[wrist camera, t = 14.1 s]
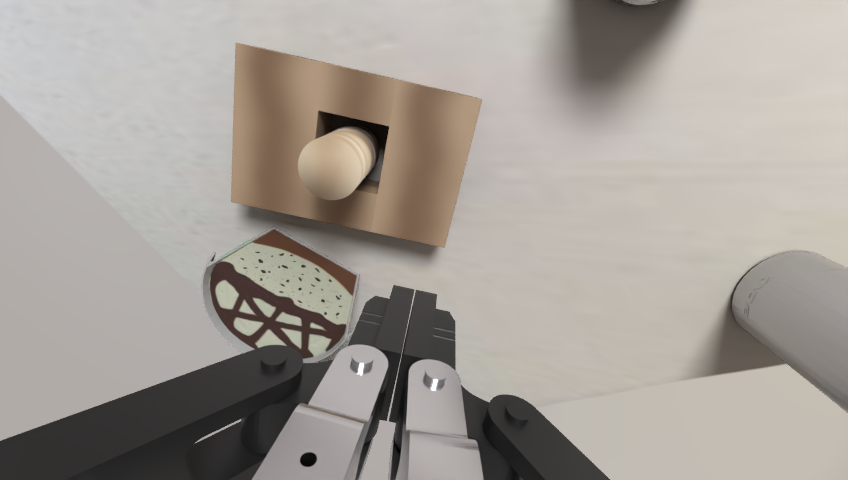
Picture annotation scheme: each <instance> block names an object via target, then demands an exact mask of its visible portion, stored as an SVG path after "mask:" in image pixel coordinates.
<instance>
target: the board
mask: <svg viewBox="0 0 848 480" xmlns="http://www.w3.org/2000/svg"><path fill="white" fill-rule="evenodd" d="M481 103H482V99H479V98H476V97H472V96H467V95H463V94H459V93H454V92H450V91H446V90H441V89H437V88H433V87H428V86H424V85H420V84H415V83H411V82H407V81H402V80H398V79H394V78H389V77H385V76H381V75H376V74H372V73H368V72H363V71H359V70H355V69H350V68H346V67H342V66H337V65H333V64H329V63H324V62H320V61H316V60H311V59H307V58H303V57H299V56H294V55H290V54H286V53H281V52H277V51H273V50H268V49H264V48H259V47H255V46H250V45H245V44H240V43H236V49H235V84H234V119H233V153H232V188H231V202H233V203H238V204H243V205H247V206H252V207H257V208H261V209H266V210H271V211H275V212H280V213H285V214H289V215H294V216H299V217H303V218H308V219H313V220H317V221H322V222H327V223H331V224H336V225H341V226H345V227H350V228H355V229H359V230H364V231H369V232H373V233H378V234H383V235H387V236H392V237H397V238H401V239H406V240H411V241H415V242H420V243H425V244H429V245H434V246H439V247H443V248H445V244H446V240H447V236H448V232H449V228H450V224H451V220H452V216H453V212H454V208H455V204H456V201H457V197H458V193H459V189H460V185H461V181H462V177H463V173H464V169H465V165H466V161H467V157H468V153H469V150H470V146H471V142H472V138H473V134H474V130H475V126H476V122H477V118H478V114H479V110H480V106H481ZM331 114H337V115H341V116H345V117H350V118H354V119H359V120H363V121H368V122H372V123H376V124H381V125H385V126H389V131H388V137H387V142H386V148H385V154H384V160H383V165H382V171H381V177H380V182H378V181H374V180H369V179H365V178H364V179H363V180H362V182H361V183H360V184H359V185H358V186H357V188H356V189H355V190H354V191H353V192H352V193H351V194H350V195H349V196H347V197H345V198H342V199H339V200H326V199H322V198H320V197H317V196H316V195H314V194H313V193H311V192H310V191H309V190H308V189H307V188H306V187H305V185H304V184H303V182H302V180H301V178H300V175H299V171H298V160H299V156H300V154H301V152H302V150H303V148H304V147H305V146H306V145H307V144H308V143H310V142H311V141H313V140H315V139H317V138H320V137H322V136H324V135H326V134H329V131H330V122H331Z"/></svg>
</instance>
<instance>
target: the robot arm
mask: <svg viewBox="0 0 848 480" xmlns="http://www.w3.org/2000/svg"><path fill="white" fill-rule="evenodd" d="M413 294H414V289H409V288H405V287H400V286H396V285H394V286H393V289H392V292H391V296H390V299H387V298H383V297H378V296H375V297H373V298H372V299H370V300H369V301H367V302H366V304H365V306H364V309H363V311H362V313H361V316H360V318H359V321H358V323H357V325H356V328H355V330H354V332H353V335H352V337H351V340H350V342H349V344H348V347H345V348H343V349H342V350H340V351H339V352H338V354H337V355H336V357H335V359H333V360H331V361H327V362H321V363H303V358H302V356H301V354H300V353H299V352H298V351H297V350H295V349H293V348H291V347H288V346H284V345H267V346H263V347H260V348H257V349H254V350H251V351H248V352H246V353H243V354H240V355H237V356H235V357H232V358H229V359H226V360H224V361H221V362H218V363H215V364H213V365H210V366H207V367H204V368H201V369H199V370H196V371H193V372H190V373H187V374H185V375H182V376H179V377H176V378H174V379H171V380H168V381H166V382H163V383H160V384H157V385H154V386H151V387H149V388H146V389H143V390H141V391H137V392H135V393H132V394H129V395H126V396H124V397H121V398H118V399H116V400H113V401H110V402H107V403H104V404H102V405H99V406H96V407H93V408H90V409H88V410H85V411H82V412H79V413H77V414H74V415H71V416H68V417H66V418H63V419H60V420H57V421H54V422H51V423H49V424H46V425H43V426H41V427H38V428H35V429H32V430H29V431H26V432H24V433H21V434H18V435H16V436H13V437H10V438H7V439H5V440H2V441H0V480H360V479H361V476H362V473H363V470H364V466H365V464H366V460H367V457H368V454H369V451H370V448H371V445H372V441H373V437H374V436H375V434H376V432H377V429H378V425H379V420H385V421H387V416H388V412H389V407H390V403H391V398H392V394H393V389H394V385H395V380H396V376H397V371H398V367H399V362H400V358H401V353H402V348H403V343H404V338H405V333H406V329H407V324H408V319H409V314H410V309H411V304H412V299H413ZM436 298H437V294H433V293H428V292H424V291H419V290H416V293H415V297H414V302H413V306H412V311H411V315H410V320H409V324H408V329H407V333H406V338H405V343H404V348H403V353H402V358H401V363H400V368H399V373H398V378H397V383H396V388H395V393H394V399H393V403H392V408H391V413H390V418H389V421H390V422H395V423H396V427H395V433H394V437H393V441H392V446H391V452H390V463H389V474H388V480H610V479H609V478H608V477H607V476H606V475H605V474H604V473H603V472H601V471H600V470H599V469H598V468H597V467H596V466H595V465H594V464H593V463H592V462H591V461H590V460H589V459H588V458H587V457H586V456H585V455H584V454H583V453H582V452H581V451H579V450H578V448H576V447H575V446H574V445H573V444H572V443H571V442H570V441H569V440H568V439H567V438H566V437H565V436H564V435H563V434H562V433H561V432H560V431H559V430H558V429H557V428H556V427H555V426H554V425H552V424H551V423H550V422H549V421H548V420H547V419H546V418H545V417H544V416H543V415H542V414H541V413H540V412H539V411H538V410H536V408H535V407H534V406H532V405H531V404H530V403H528V402H527V401H525V400H523V399H521V398H519V397H516V396H513V395H498V396H496V397H494V398H493V399H492V400H491V401H490V403H489V402H486V401H484V400H482V399H480V398H478V397H476V396H474V395H472V394H471V393H469V392H468V391H467V390H466V389H465V388H464V387H463V386H462V385H461V381H460V377H459V375H458V374H457V372H456V371H455V320H454V319H453V317H452V316H451V314H450V312H448V311H443V310H439V309H436ZM732 312H733V315H734V318H735V319H736V321H737V322H738V324H739V325H740V326H741V327H743V328H744V329H745V330H746V331H748V332H749V333H750V334H751V335H753V336H754V337H755V338H756V339H757V340H759V341H760V342H761V343H762V344H764V345H765V346H766V347H767V348H768V349H770V350H771V351H772V352H773V353H774V354H776V355H777V356H778V357H779V358H780V359H782V360H783V361H784V362H785V363H787V364H788V365H789V366H791V367H792V368H793V369H794V370H795V371H797V372H798V373H799V374H800V375H801V376H803V377H804V378H805V379H806V380H808V381H809V382H810V383H811V384H813V385H814V386H815V387H816V388H818V389H819V390H820V391H822V393H824V394H825V395H826V396H828V397H829V398H830V399H831V400H832V401H834V402H835V403H836V404H837V405H839V406H840V407H841V408H842V409H844V410H845V411H846V412H847V413H848V268H847V267H845V266H843V265H840V264H838V263H836V262H834V261H832V260H829V259H827V258H825V257H823V256H820V255H818V254H816V253H811V252H807V251H792V252H786V253H782V254H779V255H775V256H772V257H770V258H768V259H766V260H764V261H762V262H761V263H759V264H758V265H757V266H755V267H754V268H752V269H751V270H750V271H749V272H748V273H747V274H746V275H745V276H744V277H743V279H742V280H741V281H740V283H739V284H738V286H737V288H736V290H735V292H734V295H733V300H732ZM239 419H241V422H239V423H236V424H235V425H232V426H230V427H228V428H226V429H224V430H222V431H220V432H218V433H216V434H214V435H212V436H210V437H208V438H206V439H204V440H202V441H200V442H197V443H195V442H196V441H198V440H199V439H201V438H202V437H204V436H206V435H208V434H210V433H212V432H214V431H216V430H219V429H221V428H223V427H225V426H227V425H229V424H231V423H233V422H235V421H237V420H239ZM194 443H195V444H194Z"/></svg>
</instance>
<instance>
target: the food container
mask: <svg viewBox="0 0 848 480" xmlns="http://www.w3.org/2000/svg"><path fill="white" fill-rule="evenodd" d="M215 254H216V252H213V254H212V255H211V256H210V258H209V259H208V261H207V263H206V266H205V269H204V273H203V276H202V283H201V293H202V300H203V304H204V308H205V310H206V313H207V316H208V318H209V319H210V321H211V323H212V324H213V326H214V328H215V329H216V330H217V331H218V332H219V334H220V335H221V336H222V337H223V338H224V339H225V340H226V341H227V342H228V343H229V344H230V345H232V346H233V347H234V348H236V349H237V350H238V351H240V352H242V353H246V352H248V351H251V350H254V349H257V348H260V347H263V346H267V345H284V346H288V347H291V348H293V349H295V350H297V351H298V352H299V353H300V354H301V356H302V358H303V363H315V362H317V361H320V360H322V359H324V358H326V357H328V356H329V355H331V354H332V353H334V352H335V351H337V350H338V349H339V348H340V347H341V346H343V345H344V344H345V342H346V341H347V340H348V339H349V338H350V336H351V335H352V334H353V332H354V330H355V328H356V327H355V328H354V329H353V330H352V332H351V333H350V334H349V335H348V329H349V324H350V320H351V315H352V310H353V305H354V300H355V295H356V290H357V286H358V281H359V276H360V274H358V273H356V272H354V271H353V270H351V269H349V268H347V267H345V266H344V265H342V264H340V263H338V262H337V261H335V260H333V259H331V258H329V257H328V256H326V255H324V254H322V253H321V252H319V251H317V250H315V249H313V248H312V247H310V246H308V245H306V244H305V243H303V242H301V241H299V240H297V239H296V238H294V237H292V236H290V235H289V234H287V233H285V232H283V231H281V230H280V229H278V228H276V227H274V226H273V227H272V228H270V229H268V230H267V231H265V232H263V233H261V234H260V235H258V236H256V237H254V238H253V239H251V240H249V241H247V242H246V243H244V244H242V245H240V246H239V247H237V248H235V249H234V250H232V251H230V252H228V253H227V254H225V255H223V256H221V257H220V258H218V259H216V260H214V257H215ZM213 260H214V261H213Z"/></svg>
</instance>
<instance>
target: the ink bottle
mask: <svg viewBox="0 0 848 480" xmlns="http://www.w3.org/2000/svg"><path fill="white" fill-rule="evenodd" d="M615 1H617V2H619V3H622V4H626V5H632V6H643V5H650V4H654V3H658V2H661V1H664V0H615Z"/></svg>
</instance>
